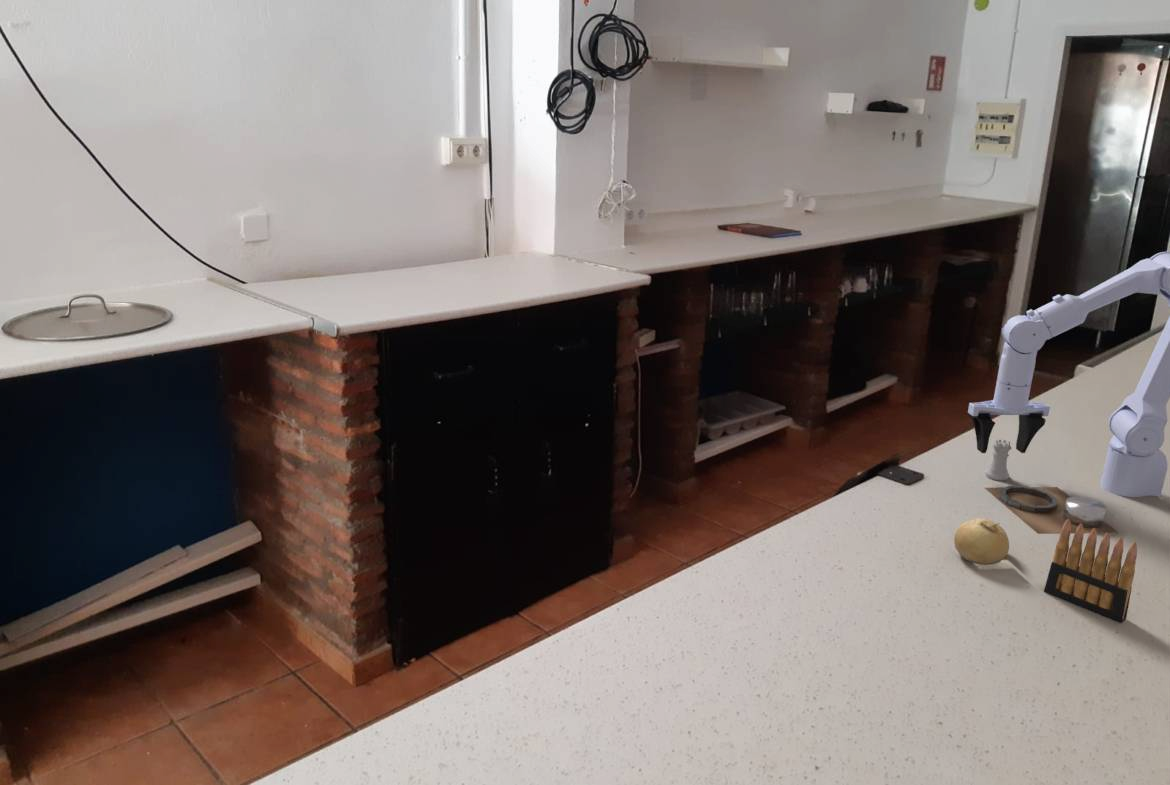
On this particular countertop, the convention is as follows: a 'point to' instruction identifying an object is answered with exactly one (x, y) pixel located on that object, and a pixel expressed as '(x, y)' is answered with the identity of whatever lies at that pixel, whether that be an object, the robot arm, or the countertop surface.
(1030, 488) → the socket ring
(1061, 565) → the ammunition clip
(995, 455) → the rook chess piece
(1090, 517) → the silver metal dome
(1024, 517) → the carrier board
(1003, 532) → the onion
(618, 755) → the countertop surface
